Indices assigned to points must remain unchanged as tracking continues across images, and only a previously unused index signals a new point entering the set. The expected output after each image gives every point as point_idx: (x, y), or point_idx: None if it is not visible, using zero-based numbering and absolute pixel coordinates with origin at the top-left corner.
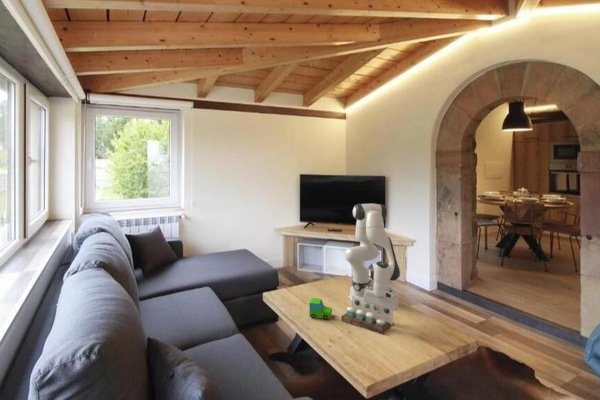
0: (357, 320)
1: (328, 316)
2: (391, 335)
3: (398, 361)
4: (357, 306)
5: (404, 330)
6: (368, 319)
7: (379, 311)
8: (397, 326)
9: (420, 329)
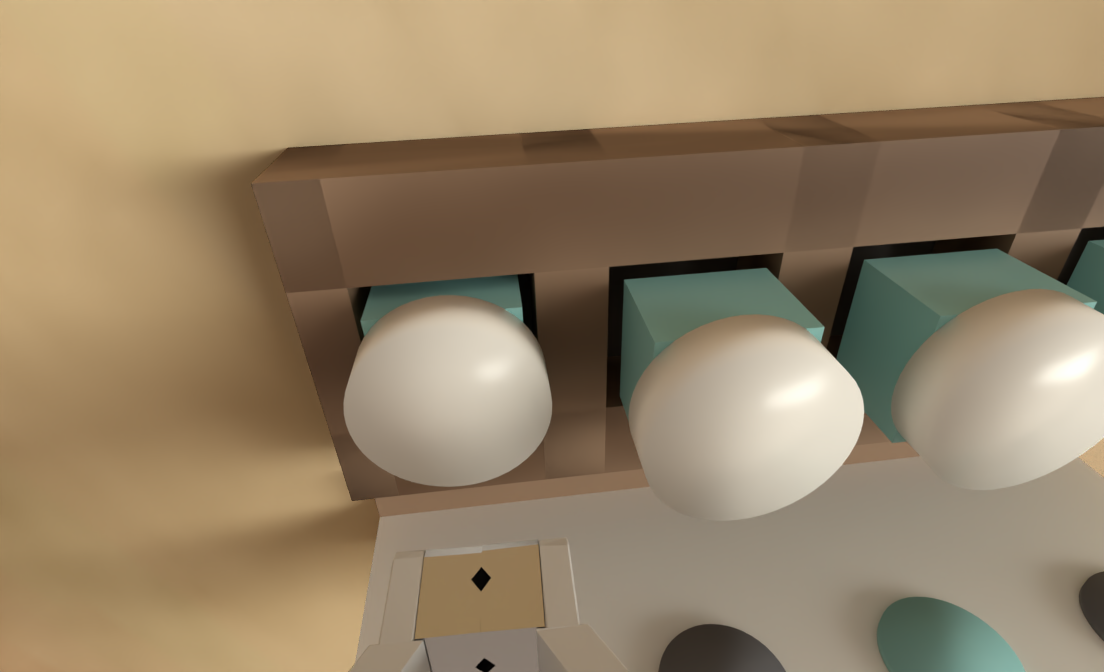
0: (953, 181)
1: None
2: (151, 228)
3: None
4: (1071, 554)
5: (157, 499)
6: (731, 304)
7: (474, 605)
8: (316, 524)
9: (48, 631)
